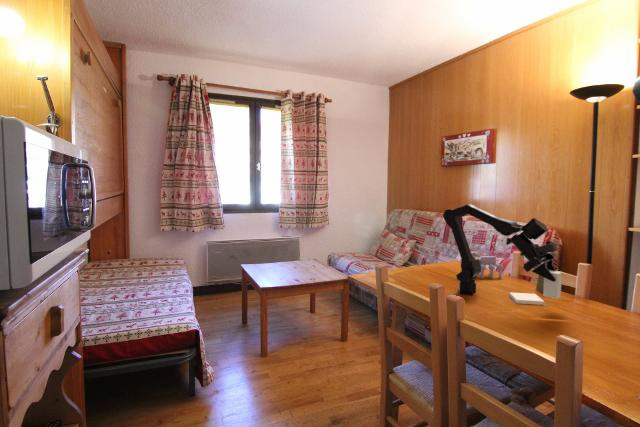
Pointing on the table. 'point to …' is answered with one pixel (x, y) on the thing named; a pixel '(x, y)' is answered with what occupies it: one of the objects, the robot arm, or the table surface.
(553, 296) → the block
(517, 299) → the tower top
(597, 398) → the table surface
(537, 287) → the olive green vase
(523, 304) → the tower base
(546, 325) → the table surface
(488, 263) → the toy sheep
